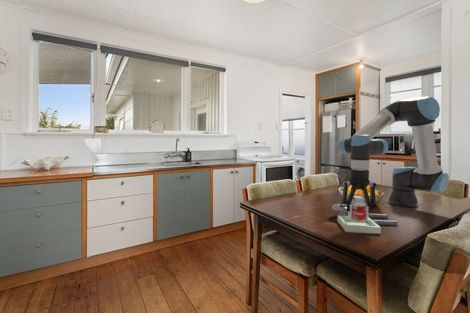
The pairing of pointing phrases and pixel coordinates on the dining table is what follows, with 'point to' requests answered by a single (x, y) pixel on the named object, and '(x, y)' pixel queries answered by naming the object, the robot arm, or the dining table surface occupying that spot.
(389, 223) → the tensioner bracket
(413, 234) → the dining table surface
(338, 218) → the tray
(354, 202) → the pill bottle
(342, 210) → the pulley
